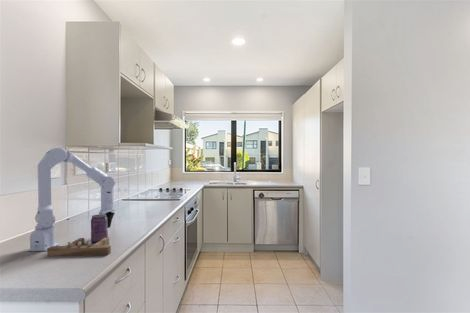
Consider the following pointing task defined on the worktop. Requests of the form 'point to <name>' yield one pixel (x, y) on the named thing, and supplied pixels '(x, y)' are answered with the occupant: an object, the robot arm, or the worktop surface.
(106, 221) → the beverage can
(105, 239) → the pin nest
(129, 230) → the worktop surface
